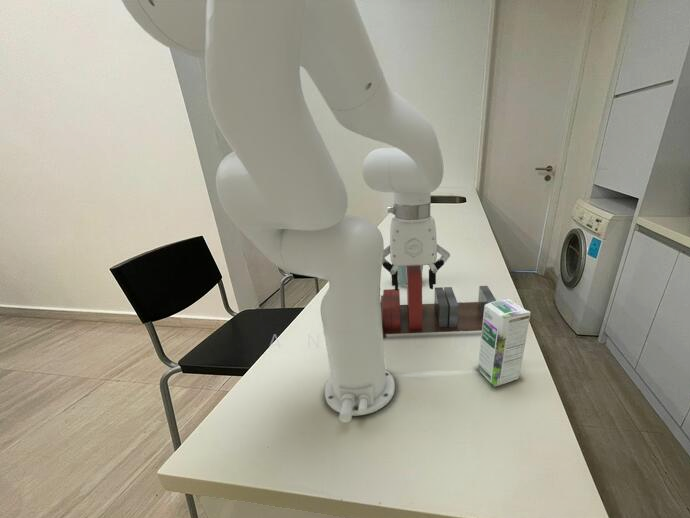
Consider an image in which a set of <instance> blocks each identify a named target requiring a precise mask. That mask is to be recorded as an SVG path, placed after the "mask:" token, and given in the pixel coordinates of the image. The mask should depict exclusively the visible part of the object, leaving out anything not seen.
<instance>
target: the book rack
mask: <svg viewBox="0 0 690 518" xmlns="http://www.w3.org/2000/svg"><path fill="white" fill-rule="evenodd" d="M382 291H383V292H382V294H380V300H381V316H382V331H383V339H386V338H387V335H400V334H401V335H402V334H404V335H405V334H428V333H430V334H432V333H457V332H480V331H481V332H482V325H483V315H484V306H485V304H488V303H491V302H495V301H497V299H496V297H495V295H494V294H493V293H492V291H491V289H490V288H489V286H488V285H479V288H478V300H477V301H469V302H465V301H464V302H458V300H457V297H456V295H455V293H454V290H453V286H446V287H434V298H433V299H434V301H433V302H434V303H422V329H409V320H408V308H407V304H401V298H400V297H401V296H400V295H401V293H400V288H398V290H397V291H395V288H391V289H390V288H389V289H383V290H382Z"/></svg>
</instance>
